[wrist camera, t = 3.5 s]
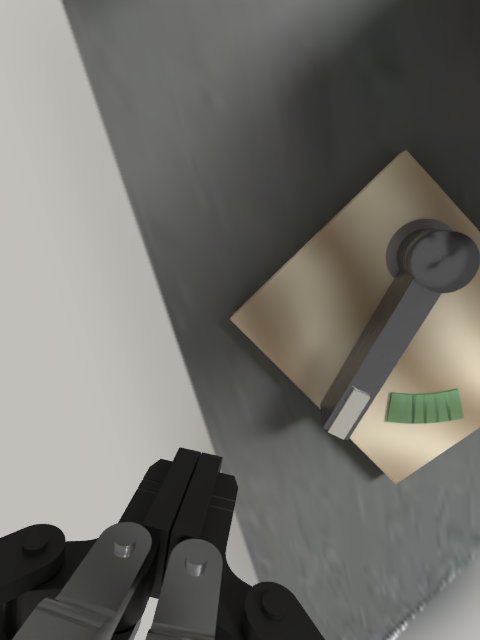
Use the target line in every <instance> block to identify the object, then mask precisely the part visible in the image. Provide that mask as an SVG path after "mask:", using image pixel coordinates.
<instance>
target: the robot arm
mask: <svg viewBox="0 0 480 640" xmlns="http://www.w3.org/2000/svg"><path fill="white" fill-rule="evenodd" d="M200 455H201V456H200ZM222 458H223V457H220V456H216V455H211V454H207V453H201V452H198V451H194V450H189V449H184V448H179V450H178V452H177V454H176V456H175V458H174V460H173V462H172V461H168V460H164V459H160V460H159V461H158V462H156V463H155V464H153V465H152V466H150V467H149V469H148V471H147V473H146V474H145V476H144V478H143V480H142V482H141V483H140V485H139V487H138V489H137V490H136V492H135V494H134V496H133V498H132V499H131V501H130V503H129V505H128V507H127V508H126V510H125V512H124V514H123V515H122V517H121V519H120V521H119V522H118V523H117V524H114V525H112V526H110V527H109V528H107V529H106V530H105V531H104V532H103V533H102V534H101V535H100V537H99V538H97V539H93V540H87V541H67V542H65V536H64V534H63V532H62V531H61V530H60V529H59V528H57V527H56V526H53V525H49V524H36V525H32V526H29V527H26V528H24V529H21V530H19V531H16V532H14V533H11V534H9V535H7V536H4V537H2V538H0V640H133V639H134V637H135V635H136V633H137V631H138V628H139V626H140V623H141V617H142V615H143V613H144V610H145V608H146V605H147V602H148V600H149V597H153V598H157V599H159V600H158V604H157V608H156V611H155V615H154V619H153V623H152V626H151V629H149V631H148V634H147V637H146V640H325V639H324V638H323V636H322V635H321V633H320V632H319V630H318V629H317V627H316V626H315V625H314V623H313V622H312V620H311V619H310V617H309V616H308V614H307V613H306V612H305V610H304V609H303V607H302V606H301V604H300V603H299V601H298V600H297V599H296V597H295V596H294V595H293V593H291V592H290V591H289V590H288V589H287V588H285V587H284V586H282V585H280V584H277V583H274V582H261V583H258V584H256V585H254V586H253V587H252V586H250V585H248V584H247V583H245V582H243V581H242V580H241V579H239V578H238V577H237V576H236V575H235V574H234V573H233V572H232V571H231V569H230V568H229V566H228V564H227V561H226V554H225V552H226V546H227V541H228V536H229V531H230V526H231V521H232V516H233V511H234V506H235V501H236V496H237V491H238V486H237V483H236V480H235V477H234V476H232V475H228V474H224V473H220V469H221V464H222Z"/></svg>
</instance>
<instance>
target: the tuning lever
mask: <svg viewBox="0 0 480 640" xmlns="http://www.w3.org/2000/svg"><path fill="white" fill-rule="evenodd" d="M397 263H398V266H399V269H400V270H399V271H398V273H397V275H396V276H395V278H394V280H393V281H392V283H391V285H390V287H389V288H388V290H387V292H386V293H385V295H384V297H383V298H382V300H381V302H380V303H379V305H378V307H377V309H376V310H375V312H374V314H373V315H372V317H371V319H370V320H369V322H368V324H367V325H366V327H365V329H364V331H363V332H362V334H361V336H360V337H359V339H358V341H357V342H356V344H355V346H354V347H353V349H352V351H351V353H350V354H349V356H348V358H347V359H346V361H345V363H344V364H343V366H342V368H341V369H340V371H339V373H338V375H337V376H336V378H335V380H334V381H333V383H332V385H331V386H330V388H329V390H328V391H327V393H326V395H325V397H324V398H323V400H322V402H321V403H320V408H321V416H322V424H323V428H324V429H326V430H328V433H331V434H333V435H335V436H337V437H339V438H341V439H343V440H344V439H346V440H348V439H349V438H350V436H351V435H352V433H353V432H354V430H355V429H356V427H357V425H358V424H359V422H360V421H361V419H362V418H363V416H364V414H365V413H366V411H367V410H368V408H369V407H370V405H371V403H372V402H373V400H374V399H375V397H376V396H377V394H378V392H379V391H380V389H381V388H382V386H383V385H384V383H385V382H386V380H387V378H388V377H389V375H390V374H391V372H392V371H393V369H394V367H395V366H396V364H397V363H398V361H399V360H400V358H401V356H402V355H403V353H404V352H405V350H406V349H407V347H408V345H409V344H410V342H411V341H412V339H413V338H414V336H415V335H416V333H417V331H418V330H419V328H420V327H421V325H422V324H423V322H424V320H425V319H426V317H427V316H428V314H429V313H430V311H431V309H432V308H433V306H434V305H435V303H436V302H437V300H438V298H439V297H440V295H441V294H442V293H451V292H455V291H457V290H460V289H462V288H463V287H465V286H466V285H467V284H468V283H470V282H471V280H472V279H473V278H474V277H475V275H476V273H477V271H478V268H479V265H480V253H479V250H478V247H477V245H476V244H475V242H474V241H473V240H472V239H471V238H470V237H468V236H467V235H465V234H463V233H460V232H455V231H448V230H440V229H433V228H423V229H418V230H416V231H414V232H412V233H410V234H409V235H407V236H406V237H405V238H404V240H403V241H402V242H401V244H400V246H399V248H398V251H397Z"/></svg>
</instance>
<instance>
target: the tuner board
mask: <svg viewBox="0 0 480 640" xmlns="http://www.w3.org/2000/svg"><path fill="white" fill-rule="evenodd" d="M423 228H433V229H440V230H448V231H455V232H460V233H463V234H465V235H467V236H468V237H470V238H471V239H472V240H473V241H474V242H475V244H476V245H477V247H478V250H479V253H480V231H479V230H478V229H477V228H476V227H475V226H474V225H473V223H472V222H471V221H470V220H469V219H468V218H467V217H466V216H465V214H464V213H463V212H462V211H461V210H460V209H459V208H458V207H457V206H456V204H455V203H454V202H453V201H452V200H451V199H450V198H449V197H448V196H447V194H446V193H445V192H444V191H443V190H442V189H441V188H440V187H439V185H438V184H437V183H436V182H435V181H434V180H433V179H432V178H431V177H430V175H429V174H428V173H427V172H426V171H425V170H424V169H423V168H422V167H421V165H420V164H419V163H418V162H417V161H416V160H415V159H414V158H413V157H412V155H411V154H410V153H409V152H408V151H407V150H405V151H403V152H401V153H400V154H398V155H397V156H396V157H395V158H394V159H393V160H392V161H391V162H390V163H389V164H388V165H387V166H386V167H385V168H384V169H383V170H382V171H381V172H380V173H379V174H378V175H377V176H376V177H375V178H374V179H373V180H371V181H370V182H369V183H368V184H367V185H366V186H365V187H364V188H363V189H362V190H361V191H360V192H359V193H358V194H357V195H356V196H355V197H354V198H353V199H352V200H351V201H350V202H349V203H348V204H347V205H345V206H344V207H343V208H342V209H341V210H340V211H339V212H338V213H337V214H336V215H335V216H334V217H333V218H332V219H331V220H330V221H329V222H328V223H327V224H326V225H325V226H324V227H323V228H322V229H321V230H320V231H318V232H317V233H316V234H315V235H314V236H313V237H312V238H311V239H310V240H309V241H308V242H307V243H306V244H305V245H304V246H303V247H302V248H301V249H300V250H299V251H298V252H297V253H296V254H295V255H294V256H293V257H291V258H290V259H289V260H288V261H287V262H286V263H285V264H284V265H283V266H282V267H281V268H280V269H279V270H278V271H277V272H276V273H275V274H274V275H273V276H272V277H271V278H270V279H269V280H268V281H267V282H265V283H264V284H263V285H262V286H261V287H260V288H259V289H258V290H257V291H256V292H255V293H254V294H253V295H252V296H251V297H250V298H249V299H248V300H247V301H246V302H245V303H244V304H243V305H242V306H241V307H240V308H238V309H237V310H236V311H235V312H234V313H233V315H232V316H231V318H230V320H231V321H232V322H233V323H234V324H235V325H236V326H237V327H238V328H239V329H240V330H241V331H242V332H243V333H244V334H245V335H246V336H247V337H248V338H249V339H250V340H251V341H252V342H253V343H254V344H255V345H256V346H257V347H258V348H259V349H260V350H261V351H262V352H263V353H264V354H265V355H266V356H267V357H268V358H269V359H270V360H271V361H272V362H273V363H274V364H275V365H276V366H277V367H278V368H279V369H280V370H281V371H282V372H283V373H285V374H286V375H287V376H288V377H289V378H290V379H291V380H292V381H293V382H294V383H295V384H296V385H297V386H298V387H299V388H300V389H301V390H302V391H303V392H304V393H305V394H306V395H307V396H308V397H309V398H310V399H311V400H312V401H313V402H314V403H315V404H316V405H317V406H318V407H319V408H320V403H321V402H322V400H323V398H324V397H325V395H326V393H327V391H328V390H329V388H330V386H331V385H332V383H333V381H334V380H335V378H336V376H337V375H338V373H339V371H340V369H341V368H342V366H343V364H344V363H345V361H346V359H347V358H348V356H349V354H350V353H351V351H352V349H353V347H354V346H355V344H356V342H357V341H358V339H359V337H360V336H361V334H362V332H363V331H364V329H365V327H366V325H367V324H368V322H369V320H370V319H371V317H372V315H373V314H374V312H375V310H376V309H377V307H378V305H379V303H380V302H381V300H382V298H383V297H384V295H385V293H386V292H387V290H388V288H389V287H390V285H391V283H392V281H393V280H394V278H395V276H396V275H397V273H398V271H399V270H400V269H399V266H398V263H397V251H398V248H399V246H400V244H401V242H402V241H403V240H404V238H405V237H406V236H407V235H409V234H410V233H412V232H414V231H416V230H418V229H423ZM320 409H321V408H320ZM479 427H480V265H479V268H478V271H477V273H476V275H475V277H474V278H473V279H472V280H471V282H470V283H468V284H467V285H466V286H465V287H463V288H462V289H460V290H457V291H455V292H451V293H442V294H441V295H440V297H439V298H438V300H437V302H436V303H435V305H434V306H433V308H432V309H431V311H430V313H429V314H428V316H427V317H426V319H425V320H424V322H423V324H422V325H421V327H420V328H419V330H418V331H417V333H416V335H415V336H414V338H413V339H412V341H411V342H410V344H409V345H408V347H407V349H406V350H405V352H404V353H403V355H402V356H401V358H400V360H399V361H398V363H397V364H396V366H395V367H394V369H393V371H392V372H391V374H390V375H389V377H388V378H387V380H386V382H385V383H384V385H383V386H382V388H381V389H380V391H379V392H378V394H377V396H376V397H375V399H374V400H373V402H372V403H371V405H370V407H369V408H368V410H367V411H366V413H365V414H364V416H363V418H362V419H361V421H360V422H359V424H358V425H357V427H356V429H355V430H354V432H353V433H352V435H351V436H350V439H351V440H352V441H353V442H354V443H355V444H356V445H357V446H358V447H359V448H360V449H361V450H362V451H363V452H364V453H365V454H366V455H367V456H368V457H369V458H370V459H371V460H372V461H373V462H374V463H375V464H376V465H377V466H378V467H379V468H380V469H381V470H382V471H383V472H384V473H385V474H386V475H387V476H388V477H389V478H390V479H391V480H392V481H393V482H394V483H395V484H397V483H398V482H400V481H401V480H403V479H404V478H406V477H407V476H408V475H410V474H411V473H413V472H414V471H416V470H417V469H419V468H420V467H422V466H423V465H425V464H426V463H428V462H429V461H431V460H432V459H434V458H435V457H437V456H438V455H440V454H441V453H442V452H444V451H445V450H447V449H448V448H450V447H451V446H453V445H454V444H456V443H457V442H459V441H460V440H462V439H463V438H465V437H466V436H468V435H469V434H471V433H472V432H473V431H475V430H476V429H478V428H479Z"/></svg>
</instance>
